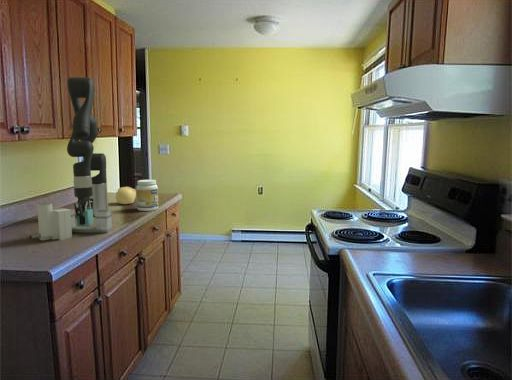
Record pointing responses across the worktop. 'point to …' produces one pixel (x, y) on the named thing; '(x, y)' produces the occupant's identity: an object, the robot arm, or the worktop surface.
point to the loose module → (86, 218)
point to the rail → (89, 229)
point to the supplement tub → (147, 195)
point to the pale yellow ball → (125, 195)
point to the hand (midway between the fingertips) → (85, 222)
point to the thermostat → (53, 222)
